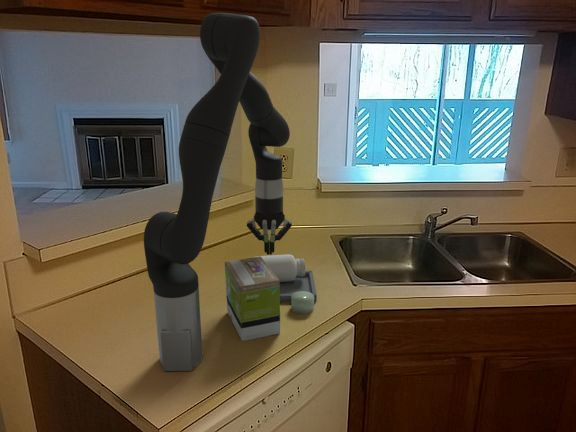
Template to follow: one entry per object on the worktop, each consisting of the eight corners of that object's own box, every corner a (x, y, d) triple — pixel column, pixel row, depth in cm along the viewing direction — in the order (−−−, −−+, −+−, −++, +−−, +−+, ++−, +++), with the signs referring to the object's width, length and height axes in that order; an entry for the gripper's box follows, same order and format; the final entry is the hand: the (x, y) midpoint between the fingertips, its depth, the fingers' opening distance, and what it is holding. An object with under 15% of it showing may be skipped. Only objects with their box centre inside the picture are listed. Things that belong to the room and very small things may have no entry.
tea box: (225, 312, 127) (223, 260, 123) (262, 306, 131) (261, 254, 126) (241, 342, 114) (239, 285, 109) (281, 334, 117) (281, 278, 113)
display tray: (316, 301, 133) (316, 295, 133) (255, 301, 133) (255, 295, 132) (312, 276, 148) (312, 270, 148) (257, 276, 148) (257, 271, 147)
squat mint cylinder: (314, 313, 127) (315, 301, 126) (291, 314, 127) (291, 301, 126) (313, 302, 133) (313, 291, 132) (290, 302, 133) (291, 291, 131)
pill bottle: (252, 271, 147) (301, 268, 149) (254, 289, 141) (305, 286, 143) (252, 250, 143) (302, 248, 145) (254, 268, 136) (307, 266, 138)
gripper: (243, 197, 128) (244, 258, 133) (294, 197, 128) (293, 258, 133) (245, 190, 135) (246, 248, 140) (293, 190, 135) (292, 248, 141)
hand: (269, 253), depth 137 cm, fingers closed
